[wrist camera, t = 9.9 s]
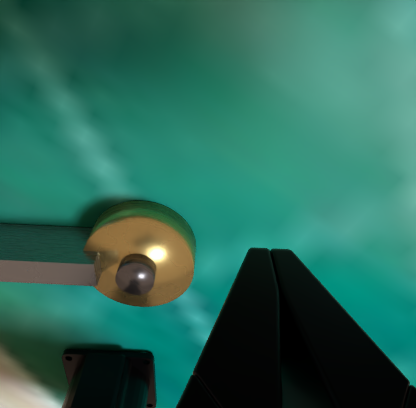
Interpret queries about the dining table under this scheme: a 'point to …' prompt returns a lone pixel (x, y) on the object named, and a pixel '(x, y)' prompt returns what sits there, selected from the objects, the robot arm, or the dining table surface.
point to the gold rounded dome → (143, 253)
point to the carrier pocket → (47, 255)
